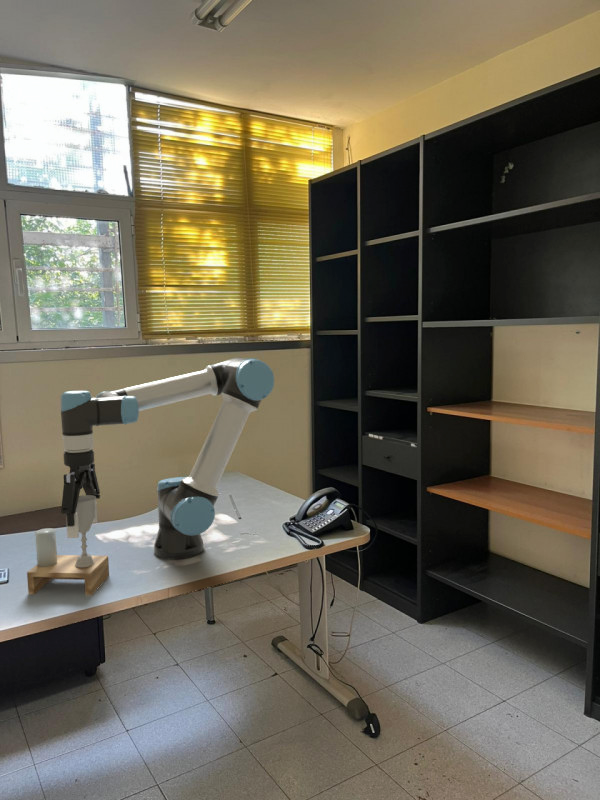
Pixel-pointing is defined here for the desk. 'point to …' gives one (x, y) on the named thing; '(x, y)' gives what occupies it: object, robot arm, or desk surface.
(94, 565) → the shelf
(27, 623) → the desk surface
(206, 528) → the robot arm
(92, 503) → the chalice
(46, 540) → the white glossy rounded part
